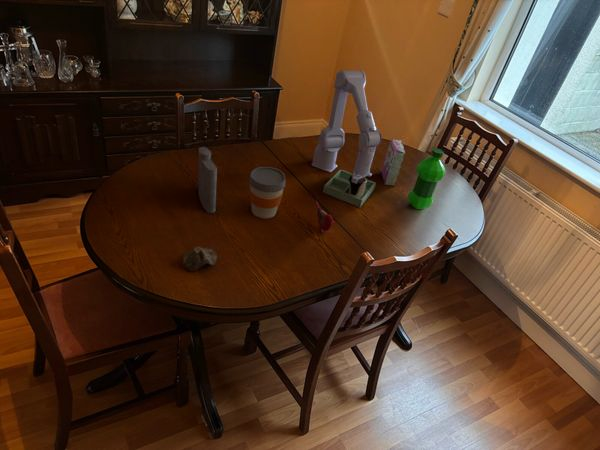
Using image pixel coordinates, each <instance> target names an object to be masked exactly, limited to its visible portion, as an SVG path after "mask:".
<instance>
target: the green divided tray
mask: <svg viewBox="0 0 600 450" xmlns="http://www.w3.org/2000/svg"><path fill="white" fill-rule="evenodd" d="M351 176H352V177H353V173H351V172H349V171H347V170H343V169H341V168H340V169H339V170H338V171H337V172H336V173H335V174H334V175H333V176H332V177H331V178H330V179H329V180H328V181H327V182H326V183H324V186H323V191H322V193H323V194H326V195H328V196H331V197H333V198H336V199H338V200H341V201H342V202H346V203H348V204H350V205H353V206H356V207H358V208H362V206H363V204H364V203H365V202H366V201H367V199H368V198H369V197H370V196H371V195H372V193H373V192H374V191H375V187H376V184H377V182H374V181H372V180H369V179H367V183H366V186H365V190H364V194H363V197H362V199H360V198H358V197H355V196H353V195H350V194H348V193H349V189H350V182H349V178H350V177H351Z"/></svg>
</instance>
